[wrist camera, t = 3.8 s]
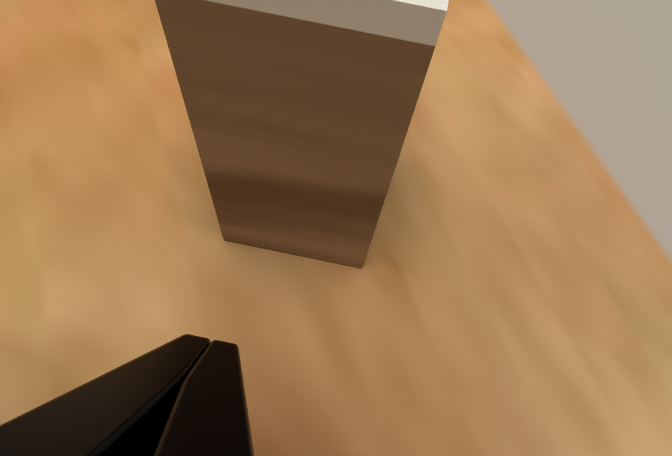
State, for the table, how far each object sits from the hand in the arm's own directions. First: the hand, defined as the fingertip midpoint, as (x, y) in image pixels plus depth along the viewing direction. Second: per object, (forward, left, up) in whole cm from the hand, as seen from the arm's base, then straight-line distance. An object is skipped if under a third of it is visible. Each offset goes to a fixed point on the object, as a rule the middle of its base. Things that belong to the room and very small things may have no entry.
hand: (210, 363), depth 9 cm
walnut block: (+4, +7, -10) cm, 13 cm away
